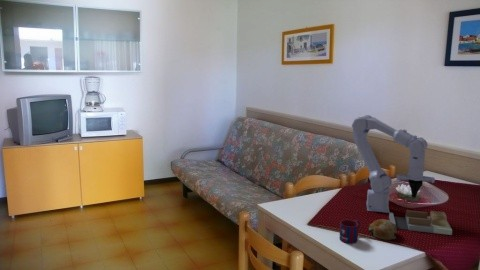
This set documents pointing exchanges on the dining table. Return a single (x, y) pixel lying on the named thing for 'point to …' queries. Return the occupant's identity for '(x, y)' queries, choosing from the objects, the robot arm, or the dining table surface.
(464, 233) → the dining table surface
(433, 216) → the wooden block
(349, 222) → the mug
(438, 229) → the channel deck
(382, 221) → the bread roll
